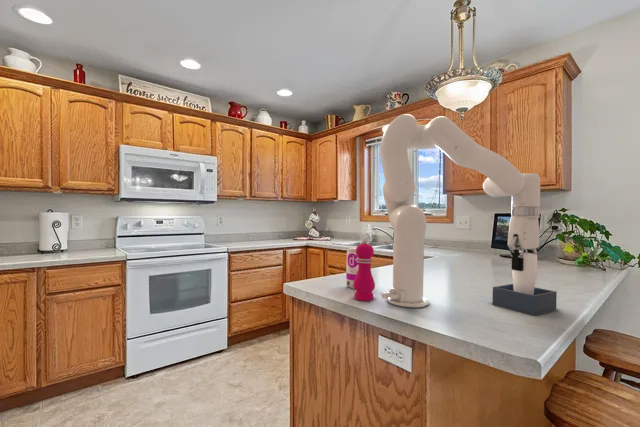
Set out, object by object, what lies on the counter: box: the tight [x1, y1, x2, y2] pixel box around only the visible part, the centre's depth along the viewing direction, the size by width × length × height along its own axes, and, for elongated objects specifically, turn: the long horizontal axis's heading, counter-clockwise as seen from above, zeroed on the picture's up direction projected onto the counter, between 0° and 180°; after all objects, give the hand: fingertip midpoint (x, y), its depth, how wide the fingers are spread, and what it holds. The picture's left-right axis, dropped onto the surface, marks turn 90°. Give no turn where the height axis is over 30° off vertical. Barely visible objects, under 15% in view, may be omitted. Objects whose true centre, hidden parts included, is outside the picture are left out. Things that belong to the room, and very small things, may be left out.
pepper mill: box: [353, 238, 376, 302], centre depth 106 cm, size 7×7×20 cm
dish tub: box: [491, 283, 558, 316], centre depth 99 cm, size 13×13×6 cm
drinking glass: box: [511, 252, 538, 295], centre depth 99 cm, size 7×7×15 cm
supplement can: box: [345, 246, 358, 289], centre depth 123 cm, size 8×8×15 cm
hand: (524, 269), depth 99 cm, fingers closed on drinking glass, 6 cm apart
